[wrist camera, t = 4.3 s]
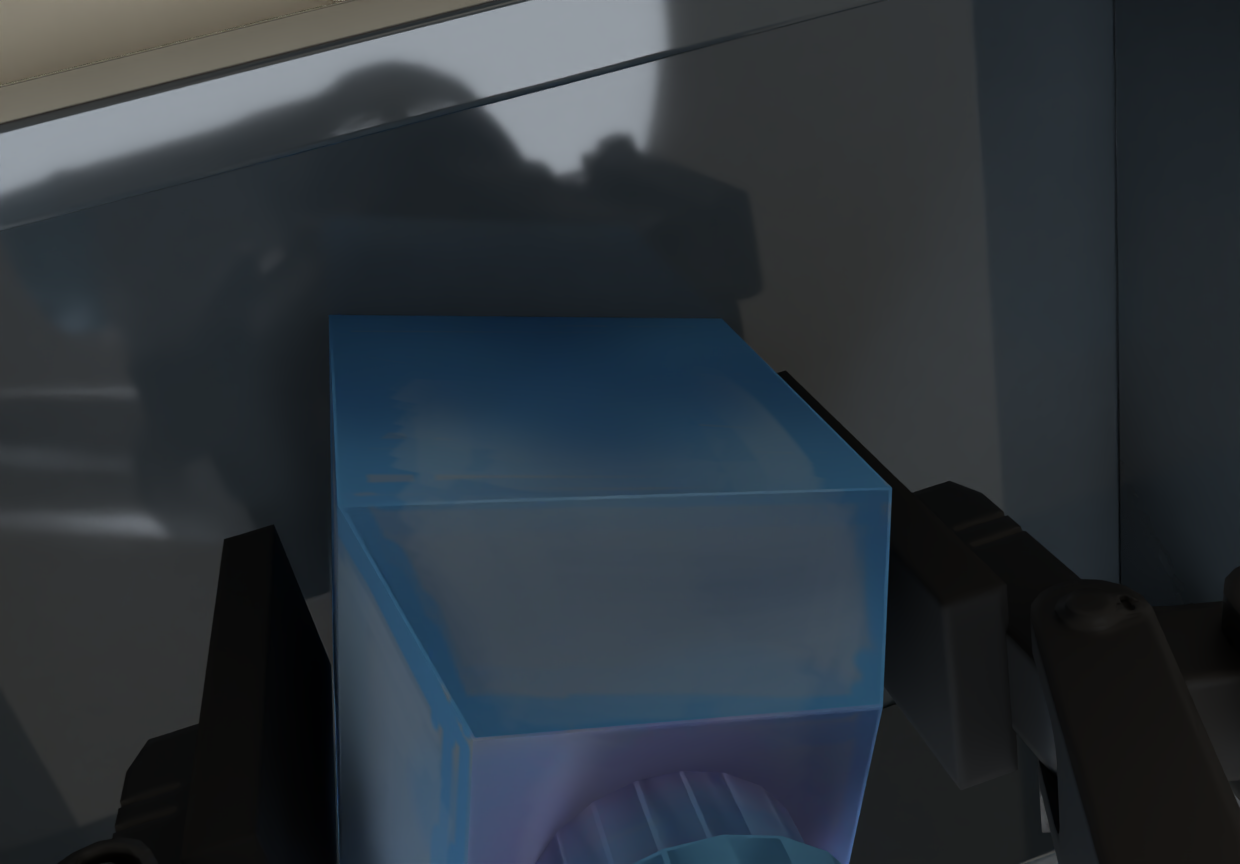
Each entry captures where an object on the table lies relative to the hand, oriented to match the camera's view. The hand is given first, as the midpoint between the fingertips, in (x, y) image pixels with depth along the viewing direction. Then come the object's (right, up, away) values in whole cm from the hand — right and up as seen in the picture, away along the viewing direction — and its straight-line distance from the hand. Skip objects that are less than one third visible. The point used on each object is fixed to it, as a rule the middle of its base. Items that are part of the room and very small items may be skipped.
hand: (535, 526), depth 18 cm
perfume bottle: (0, +1, +1) cm, 1 cm away
